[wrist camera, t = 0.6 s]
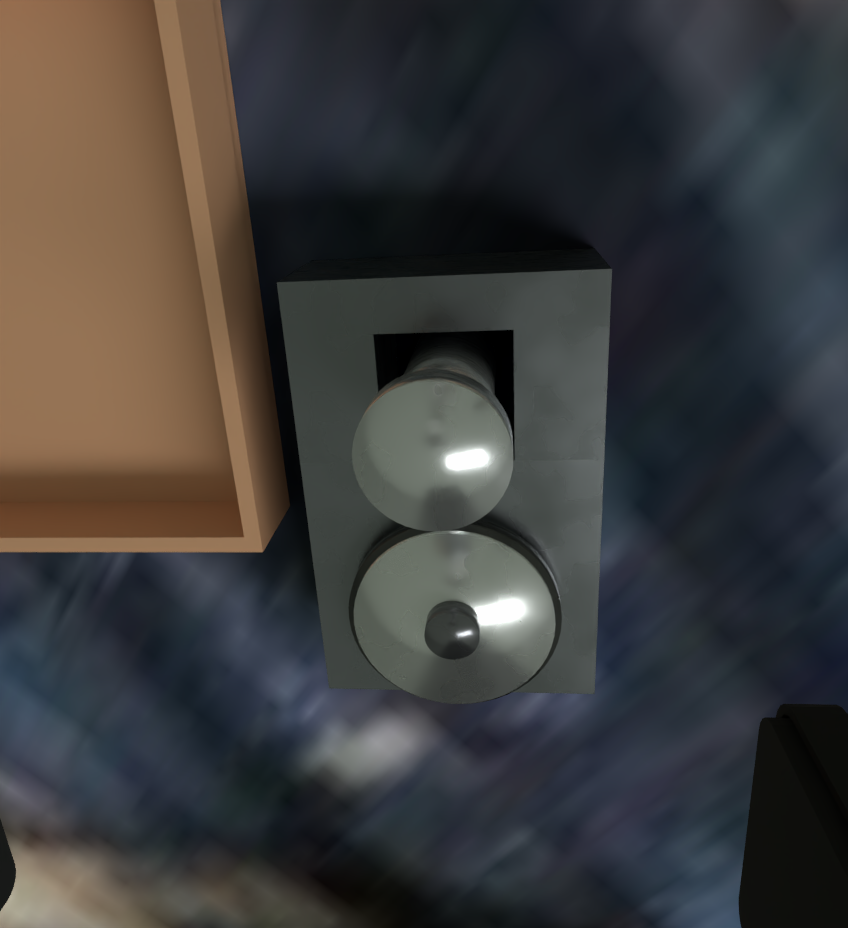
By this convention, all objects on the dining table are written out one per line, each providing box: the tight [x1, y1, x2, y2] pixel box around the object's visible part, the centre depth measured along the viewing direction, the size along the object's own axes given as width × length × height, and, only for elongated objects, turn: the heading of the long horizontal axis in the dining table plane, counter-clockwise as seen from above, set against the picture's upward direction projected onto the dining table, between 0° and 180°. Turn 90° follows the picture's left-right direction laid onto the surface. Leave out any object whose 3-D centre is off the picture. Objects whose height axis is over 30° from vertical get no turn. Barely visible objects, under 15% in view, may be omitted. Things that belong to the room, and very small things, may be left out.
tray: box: [0, 0, 290, 552], centre depth 34 cm, size 26×22×5 cm
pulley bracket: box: [277, 248, 612, 704], centre depth 35 cm, size 20×13×8 cm, turn 3°
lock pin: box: [352, 331, 513, 532], centre depth 31 cm, size 5×5×12 cm
